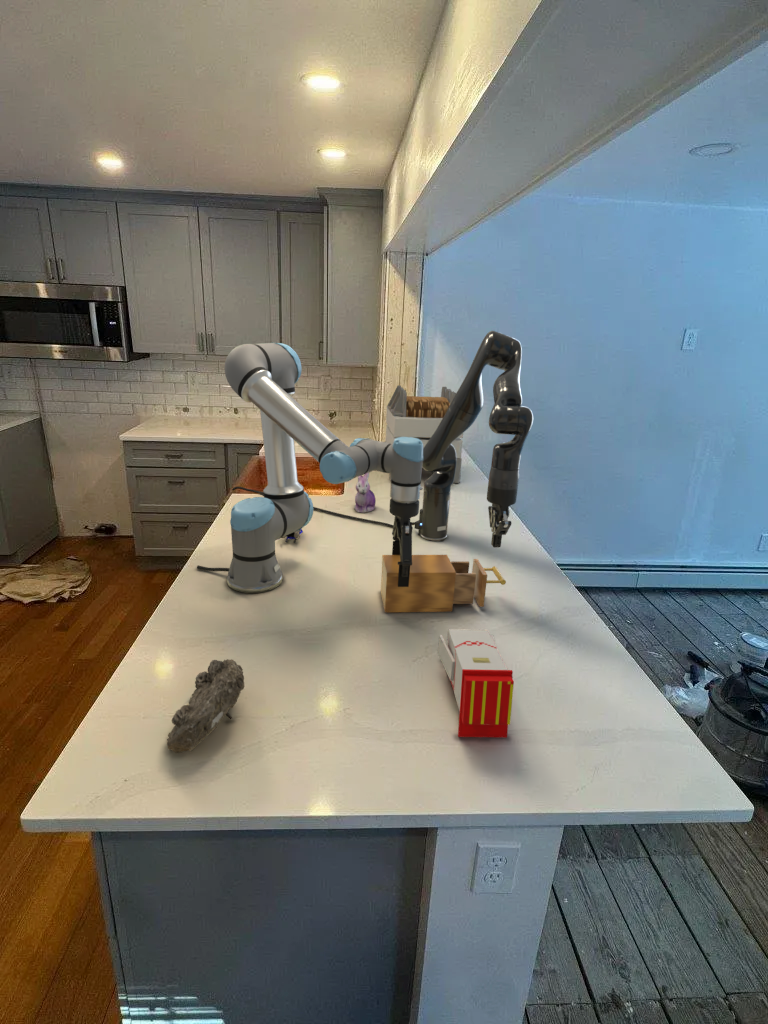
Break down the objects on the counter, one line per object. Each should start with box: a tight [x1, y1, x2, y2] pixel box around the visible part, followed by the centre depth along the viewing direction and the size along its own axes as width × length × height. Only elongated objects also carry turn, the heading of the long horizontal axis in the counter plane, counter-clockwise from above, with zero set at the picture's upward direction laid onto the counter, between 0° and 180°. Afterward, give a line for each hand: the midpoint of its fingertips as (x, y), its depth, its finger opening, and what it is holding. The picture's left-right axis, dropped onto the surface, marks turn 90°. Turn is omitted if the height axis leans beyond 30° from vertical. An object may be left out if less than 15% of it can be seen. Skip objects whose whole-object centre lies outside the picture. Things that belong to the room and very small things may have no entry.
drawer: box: [450, 558, 507, 608], centre depth 154 cm, size 22×10×9 cm, turn 96°
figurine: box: [354, 472, 376, 513], centre depth 220 cm, size 9×10×15 cm
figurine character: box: [281, 528, 304, 544], centre depth 192 cm, size 7×8×15 cm
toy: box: [437, 628, 515, 738], centre depth 117 cm, size 12×13×30 cm
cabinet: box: [380, 554, 456, 613], centre depth 152 cm, size 18×11×12 cm, turn 96°
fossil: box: [166, 658, 245, 754], centre depth 106 cm, size 22×10×15 cm
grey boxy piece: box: [384, 384, 464, 484], centre depth 268 cm, size 34×33×41 cm
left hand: (399, 574), depth 151 cm, fingers open, 13 cm apart
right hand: (495, 546), depth 151 cm, fingers closed
